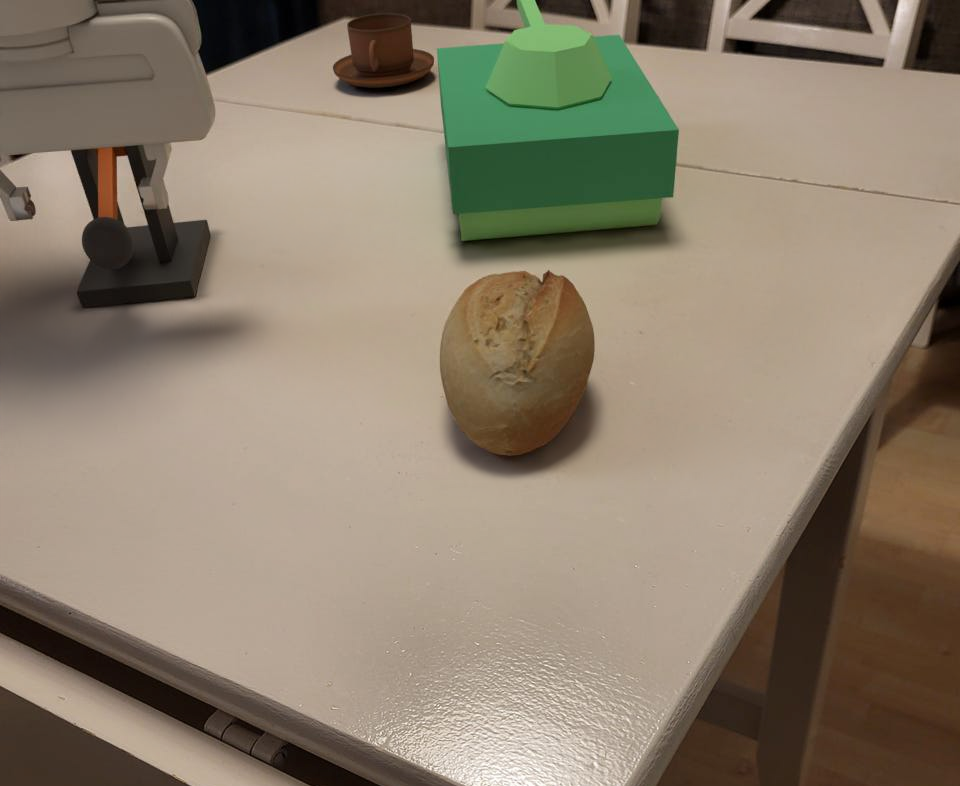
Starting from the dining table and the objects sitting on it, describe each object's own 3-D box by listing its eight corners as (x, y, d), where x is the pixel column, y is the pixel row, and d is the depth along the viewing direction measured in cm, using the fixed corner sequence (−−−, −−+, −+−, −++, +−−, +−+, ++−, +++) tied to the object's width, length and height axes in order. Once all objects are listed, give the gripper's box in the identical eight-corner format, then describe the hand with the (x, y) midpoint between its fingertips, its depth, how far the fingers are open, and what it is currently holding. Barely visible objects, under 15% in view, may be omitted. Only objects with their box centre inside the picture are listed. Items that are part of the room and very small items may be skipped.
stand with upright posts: (195, 296, 77) (147, 126, 68) (81, 307, 77) (18, 138, 68) (210, 234, 86) (170, 76, 77) (108, 244, 86) (56, 86, 77)
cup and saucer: (444, 88, 112) (440, 27, 108) (342, 101, 111) (333, 41, 106) (425, 60, 121) (420, 3, 117) (329, 72, 119) (321, 15, 115)
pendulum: (141, 276, 72) (124, 246, 69) (93, 281, 72) (73, 251, 69) (138, 130, 76) (122, 95, 72) (92, 135, 76) (73, 99, 72)
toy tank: (607, -29, 97) (683, 75, 71) (603, 104, 105) (669, 239, 80) (431, -16, 96) (444, 94, 71) (440, 116, 105) (455, 256, 80)
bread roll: (586, 341, 69) (589, 229, 63) (599, 466, 58) (604, 345, 52) (451, 346, 69) (441, 236, 64) (439, 471, 58) (426, 351, 53)
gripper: (194, -37, 62) (240, 184, 72) (-131, -14, 61) (-40, 206, 71) (181, -14, 58) (233, 218, 67) (-170, 11, 57) (-67, 242, 66)
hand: (90, 212), depth 69 cm, fingers open, 8 cm apart
